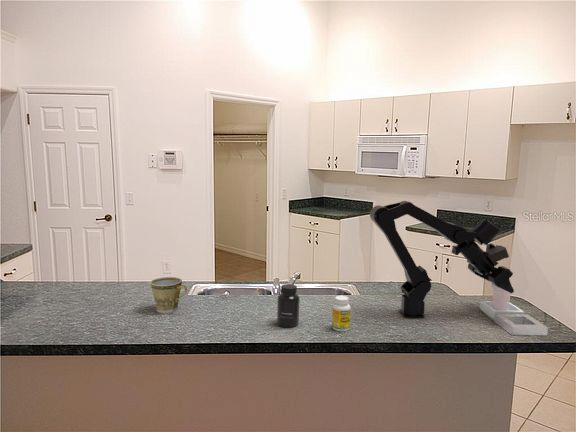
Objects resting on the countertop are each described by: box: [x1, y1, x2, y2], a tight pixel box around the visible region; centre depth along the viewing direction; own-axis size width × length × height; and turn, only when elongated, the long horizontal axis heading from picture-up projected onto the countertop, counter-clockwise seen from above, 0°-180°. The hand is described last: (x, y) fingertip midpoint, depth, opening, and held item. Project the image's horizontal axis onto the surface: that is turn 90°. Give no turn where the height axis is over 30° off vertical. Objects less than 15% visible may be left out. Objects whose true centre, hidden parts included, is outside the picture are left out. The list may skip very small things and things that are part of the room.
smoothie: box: [491, 283, 514, 311], centre depth 136 cm, size 6×6×14 cm
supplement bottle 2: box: [331, 295, 352, 332], centre depth 123 cm, size 5×5×10 cm
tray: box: [479, 300, 525, 321], centre depth 137 cm, size 10×10×3 cm
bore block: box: [493, 313, 549, 336], centre depth 126 cm, size 10×10×2 cm
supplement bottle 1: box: [276, 283, 301, 329], centre depth 126 cm, size 7×7×12 cm
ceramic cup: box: [150, 276, 188, 315], centre depth 136 cm, size 13×10×10 cm
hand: (504, 287), depth 136 cm, fingers open, 9 cm apart
